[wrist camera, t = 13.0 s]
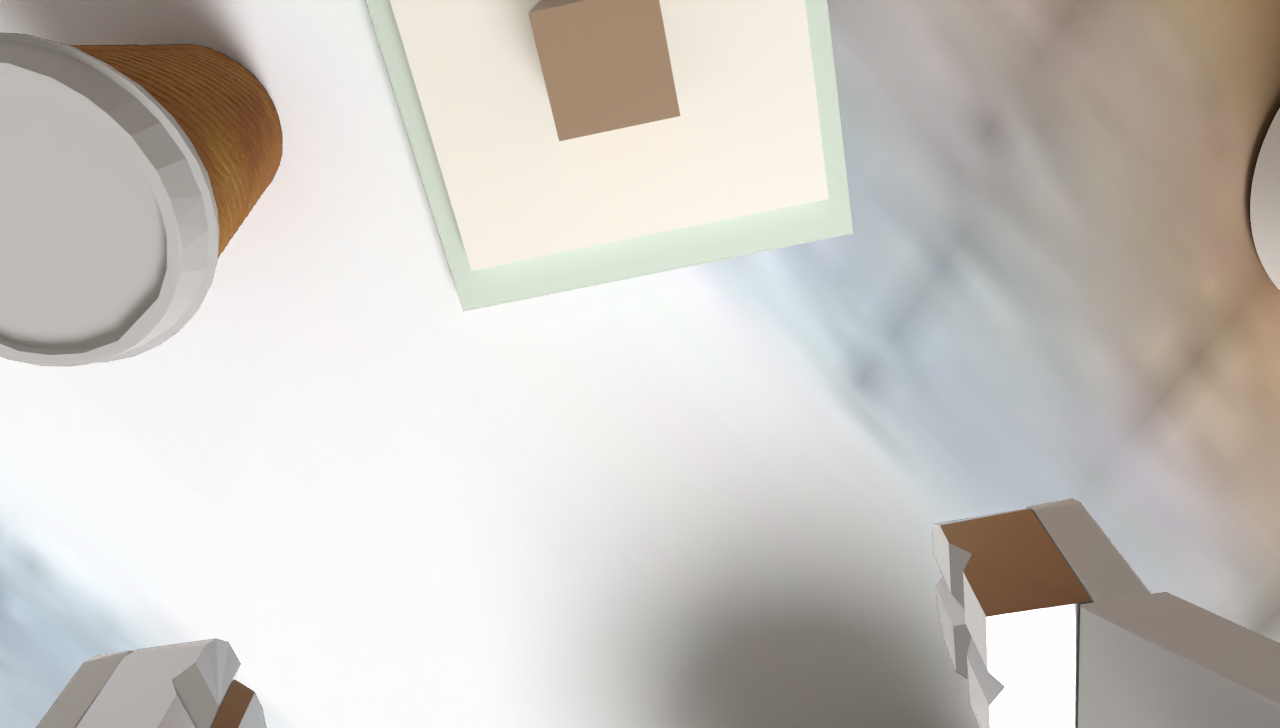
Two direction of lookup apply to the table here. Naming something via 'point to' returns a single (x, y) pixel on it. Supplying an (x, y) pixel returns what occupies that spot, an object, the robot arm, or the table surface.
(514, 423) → the table surface
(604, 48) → the cover
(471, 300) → the mat
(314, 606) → the table surface
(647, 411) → the table surface
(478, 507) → the table surface
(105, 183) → the disposable coffee cup
